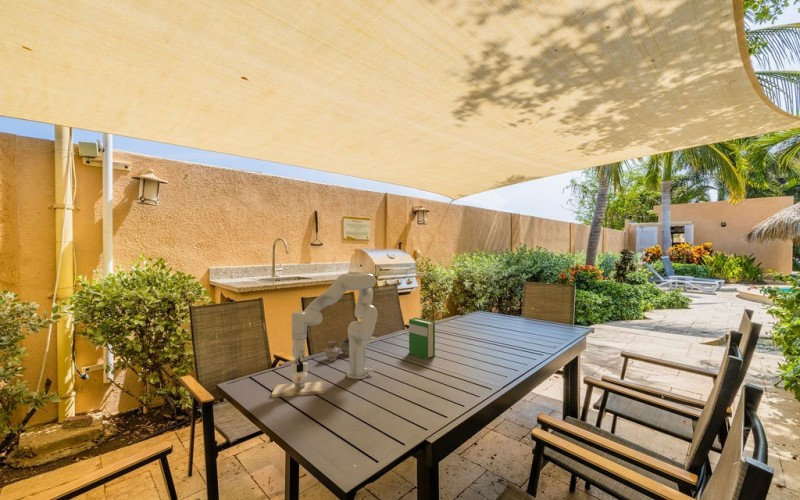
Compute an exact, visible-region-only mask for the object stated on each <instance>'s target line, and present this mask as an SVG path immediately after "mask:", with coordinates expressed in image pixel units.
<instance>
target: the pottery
mask: <svg viewBox="0 0 800 500" xmlns="http://www.w3.org/2000/svg"><path fill="white" fill-rule="evenodd" d="M342 341H343V342H341V343H340V344H339V348H338V347H337V346H336V344H337V341H336V340H330V341H328V342H327V344H328V346H327V348H325V349H324V354H325V356H326V357H327V361H330V362H333V361H337V358H338V356H339V354H340V351H341V352H342V354H343V355H344V356H349V337H344V338H343V339H342Z"/></svg>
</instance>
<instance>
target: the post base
mask: <svg viewBox="0 0 800 500" xmlns="http://www.w3.org/2000/svg"><path fill="white" fill-rule="evenodd" d="M325 393H326V381H325V380H322V381H308V382H307V381H305V382H303V383H293V382H292V383H283V384H282V383H281V384H275V386H274V387H273V390H272V392H271V395H270V396H271V398H279V397H280V398H281V397H293V396H294V397H295V396H307V395H319V394H322V395H323V394H325Z"/></svg>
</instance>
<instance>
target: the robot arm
mask: <svg viewBox="0 0 800 500" xmlns="http://www.w3.org/2000/svg"><path fill="white" fill-rule="evenodd" d="M376 283H377V279H376V277H375V275H373V274H372V273H366V272H356V273H355V274H347V273H343V274H340V275H339V276H338V277H337V278H335V280H334V281H333V282H332V284H330V286H329V287H328V288H327V289H326V290H325V291H324V292H323V293H321V294H320V295H319V296H317V297H316V298H314V299H313V300H312V301H310V303H309V304H308V305H307V306H306V307H305V308H304V310H303V311H294V312H293V313H292V314H291V340H292V347H291V349H292V350H291V352H292V353H291V355H292V357H293V358H294V359H295V362H294V364H295V363H297V372H302V371H303V363H304V359H305V358H306V339H307V336H308V334H307V329H308V328H307V327H308V326H317V325H320V324H321V323H322V322H323V320H324V319H323V318H324V317H323V314H322V313H321V312H320V311H322V310H323V309H324V308H325V307H327V306H331V305H334V304H336V303H337V302H338V301H339V300H340V299H341V298H342V297H343V295H344V294H345V293H346V292H347V291H358V296H357V301H356V305H355V309H354V317H355V318H357V319H359V320H361V321H359V320H354V321H351V322H350V323H349V324H348V327H347V338H349V355H348V362H349V363H348V364H349V368H348V369H349V371H347V372H346V377H347V378H348V379H351V380H362V379H365V378H368V375H369V373H374V368H372V367H367V366H366V364H367V363H366V362H367V361H366V359H367V356H366V347H367V346H366V342H368V341H369V340H371V339H372V337H373V335H374V332H375V329H376V328H375V327H376V324H377V320H378V310H377V308H376V306H374V305H372V303H373V299H374V290H373V287H374V286H375V285H376Z"/></svg>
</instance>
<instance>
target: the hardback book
mask: <svg viewBox="0 0 800 500" xmlns="http://www.w3.org/2000/svg"><path fill="white" fill-rule="evenodd" d="M408 353H409V354H411V355H414V356H417V357H419V356H420V357H419V358H422V357H423V359H425V358H426V359H425V360H429V358H435V357H436V321H434V320H433V321H432V320H429V319H424V318H419V317H413V318H409V319H408Z"/></svg>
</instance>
